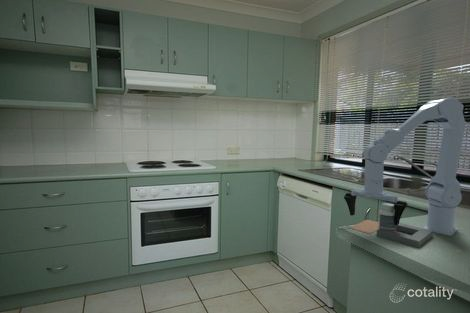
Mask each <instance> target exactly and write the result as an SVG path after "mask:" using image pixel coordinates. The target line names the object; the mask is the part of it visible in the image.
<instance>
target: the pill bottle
mask: <svg viewBox="0 0 470 313" xmlns="http://www.w3.org/2000/svg"><path fill="white" fill-rule="evenodd" d="M380 207H381V209H380V210H379V212H378V222H379V226H378V229H380V228H382V229H386V230H390V231H394V232H397V230H396V225H394V218H395V211H394V204H393V203H387V202H386V203H385V202H384V203H381V205H380Z"/></svg>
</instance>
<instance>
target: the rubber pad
mask: <svg viewBox="0 0 470 313" xmlns="http://www.w3.org/2000/svg"><path fill="white" fill-rule="evenodd" d="M378 226H379V221H374V220H370V219H365V220H363V221H361V222H359V223H357V224H354V225H352V226H350V227H349V229H351V230H355V231H358V232H361V233H366V234H369V235H371V234H372V233H374V232H377V230H378Z"/></svg>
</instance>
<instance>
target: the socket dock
mask: <svg viewBox="0 0 470 313" xmlns="http://www.w3.org/2000/svg"><path fill="white" fill-rule="evenodd" d="M401 232H402V233H401ZM405 233H407V234H405ZM409 234H410V235H409ZM433 234H434V232H433V231H431V230H427V229H423V227H418V226H415V225H411V224H410V225H409V224H405V223H400V222H399V224H398V225H396V232H394V231H390V230H386V229H382V228H380V229H378V230H376V236H377V237H380V238H384V239H387V240H390V241H394V242H398V243H402V244H404V245H405V244H406V245H409V246H412V247H416V248H420V247H421V246H422V245H424V244H425V243H426V242H428V240H430V239H431V238H432V237H433V236H434V235H433Z"/></svg>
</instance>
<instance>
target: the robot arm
mask: <svg viewBox="0 0 470 313" xmlns="http://www.w3.org/2000/svg"><path fill="white" fill-rule="evenodd" d="M464 107H465V106H464V104H462V103H461V101H459V100H458V99H457V98H455V97H446V98H441V99H432V100H428V102H426V103H425V104H423V105H422V106H420V107H419V108H418V109H417V110H416V112H414V113H413V114H412V115H411V116H409V118H407V120H405V121H404V122H403V123H402V124H401V125H400V126H399V127H397V128H390V129H386V130H385V131H384V132H383V133H384V134H383V135H382V136H381V137H379V138H377V139H374V140H373V141H372V143H373V144H369V145H366V146H365V148H364V150H363V152H362V154H361V155H362V157H363V158H364V162H365V163H364V164H365V165H364V184H363V185H364V187H363V188H364V190H361V189H351V192H347V193H345V195H344V196H343V199H344V201H345V203H346V205H347V207H348V210H349V215H350V216H355V213H356V202H357V201H356V200H357V197H361V198H367V199H375V200H380V201H381V200H382V201H388V202H391V203H394V204H393V205H394V211H395V218H394V225H398V224H399V223H400V220H401V218H402V215H403V213H404V211H405V209H406V208H407V207H408V203H407V201H402V200H398V198H399V197H398V195H394V194H390V193H386V192H384V172H385V171H384V170H385V168H384V167H385V165H384V163H385V161H386V160H387V159H388V155H389V154H390V153H391V152H393V151H394V150H395V149H396V148H398V147H399V146H400V145H402V143H404V142H405V138H406V136H408V135H409V134H410V133H411V132H412V131H414V130H416V128H418V127H419V126H421V125H422V124H424V123H425V122H427V121H434V122H436V123H437V124H438V125H439V126H440V127H441V128H442V129H443V133H442V137H441V143H440V149H439V154H438V160H437V165H436V172H435V175H433V176H432V177H431V178H430V179H429V180H430V181H429V184H428V185H426V187H425V196H426V197H427V198H428V207H427V208H428V210H427V222H426V225H425V226H424V227H422V228H423V229H427V230H431V231H433V233H437V234H442V235H444V236H445V235H446V236H450V237H451V236H453V235H454V234H455V233H456V232H457V231H458V228H457V227H455V224H456V223H455V222H456V208H457V206H458V205H460V203H461V202H462V199H463V195H462V193H461V183H460V182H459V181H458V179H457V172H458V168H459V162H460V159H461V157H460V156H461V152H462V147H463V142H464V136H465V131H466V126H467V124H466V120H465V117H464V113H463V112H464Z"/></svg>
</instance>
